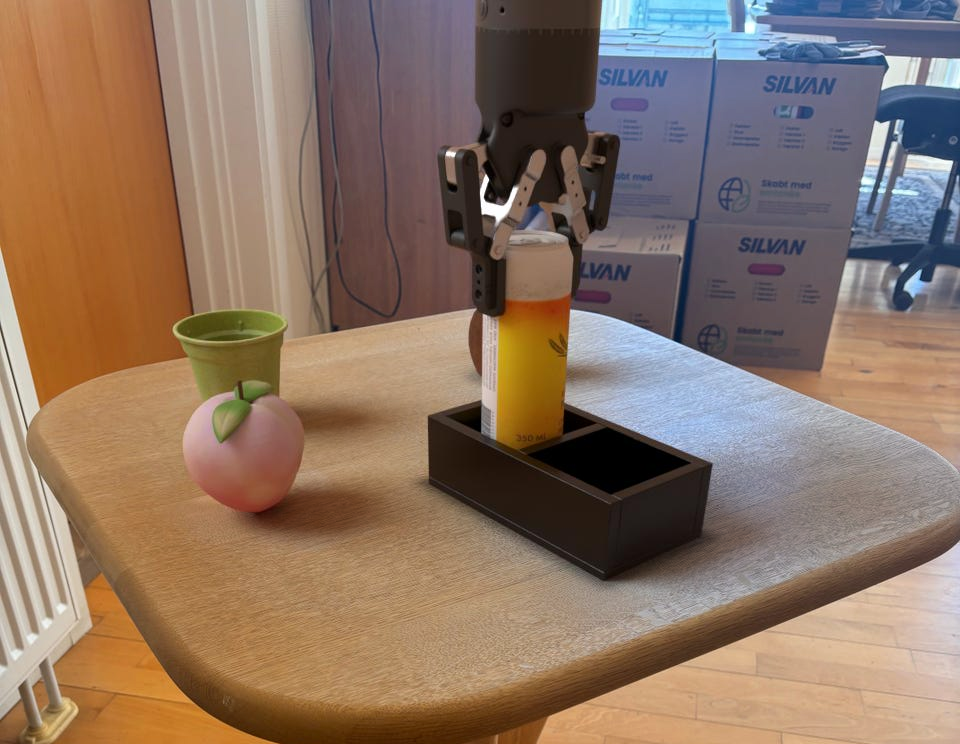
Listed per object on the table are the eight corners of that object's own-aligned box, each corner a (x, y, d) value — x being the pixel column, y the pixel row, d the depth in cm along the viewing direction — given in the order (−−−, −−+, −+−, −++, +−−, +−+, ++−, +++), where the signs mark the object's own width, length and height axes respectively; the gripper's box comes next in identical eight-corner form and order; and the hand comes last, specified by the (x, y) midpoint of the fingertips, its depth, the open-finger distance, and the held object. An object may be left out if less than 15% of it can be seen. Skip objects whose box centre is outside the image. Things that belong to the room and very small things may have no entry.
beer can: (577, 454, 72) (592, 242, 64) (507, 470, 70) (513, 252, 61) (533, 427, 77) (542, 225, 68) (466, 441, 74) (467, 233, 66)
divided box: (523, 454, 81) (526, 386, 78) (701, 538, 69) (713, 463, 66) (428, 485, 76) (427, 415, 73) (603, 583, 64) (611, 503, 61)
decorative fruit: (211, 484, 76) (191, 357, 70) (316, 485, 76) (305, 358, 70) (179, 541, 68) (154, 404, 62) (297, 543, 68) (282, 406, 62)
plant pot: (219, 452, 81) (204, 348, 76) (171, 419, 87) (154, 320, 82) (317, 426, 86) (308, 327, 81) (264, 396, 92) (253, 302, 87)
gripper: (486, 24, 52) (482, 338, 61) (665, 21, 59) (637, 300, 69) (403, 19, 56) (411, 312, 66) (579, 17, 64) (564, 279, 74)
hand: (527, 305), depth 67 cm, fingers closed on beer can, 6 cm apart
